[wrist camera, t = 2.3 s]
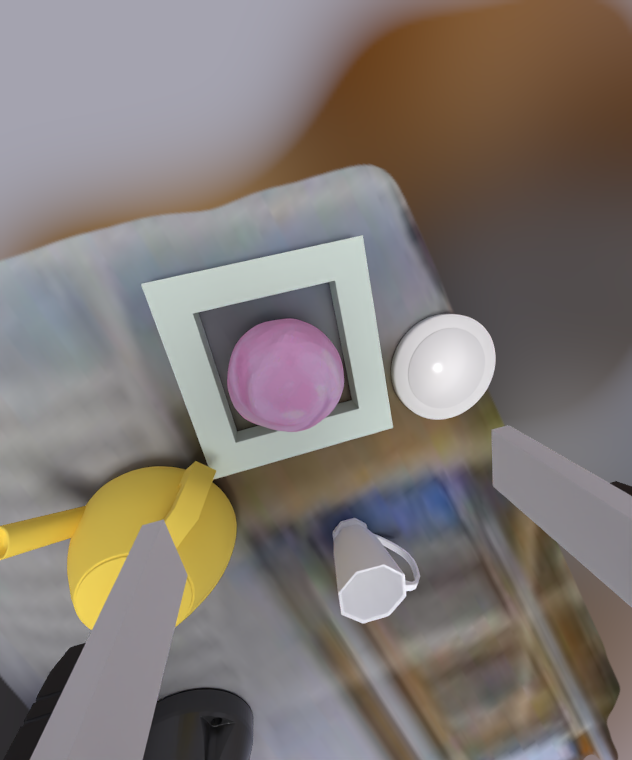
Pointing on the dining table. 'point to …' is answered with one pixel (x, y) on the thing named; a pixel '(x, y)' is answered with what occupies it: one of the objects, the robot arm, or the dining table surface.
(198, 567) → the teapot
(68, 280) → the dining table surface
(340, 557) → the cup
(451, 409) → the plate
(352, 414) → the frame
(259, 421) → the cupcake
